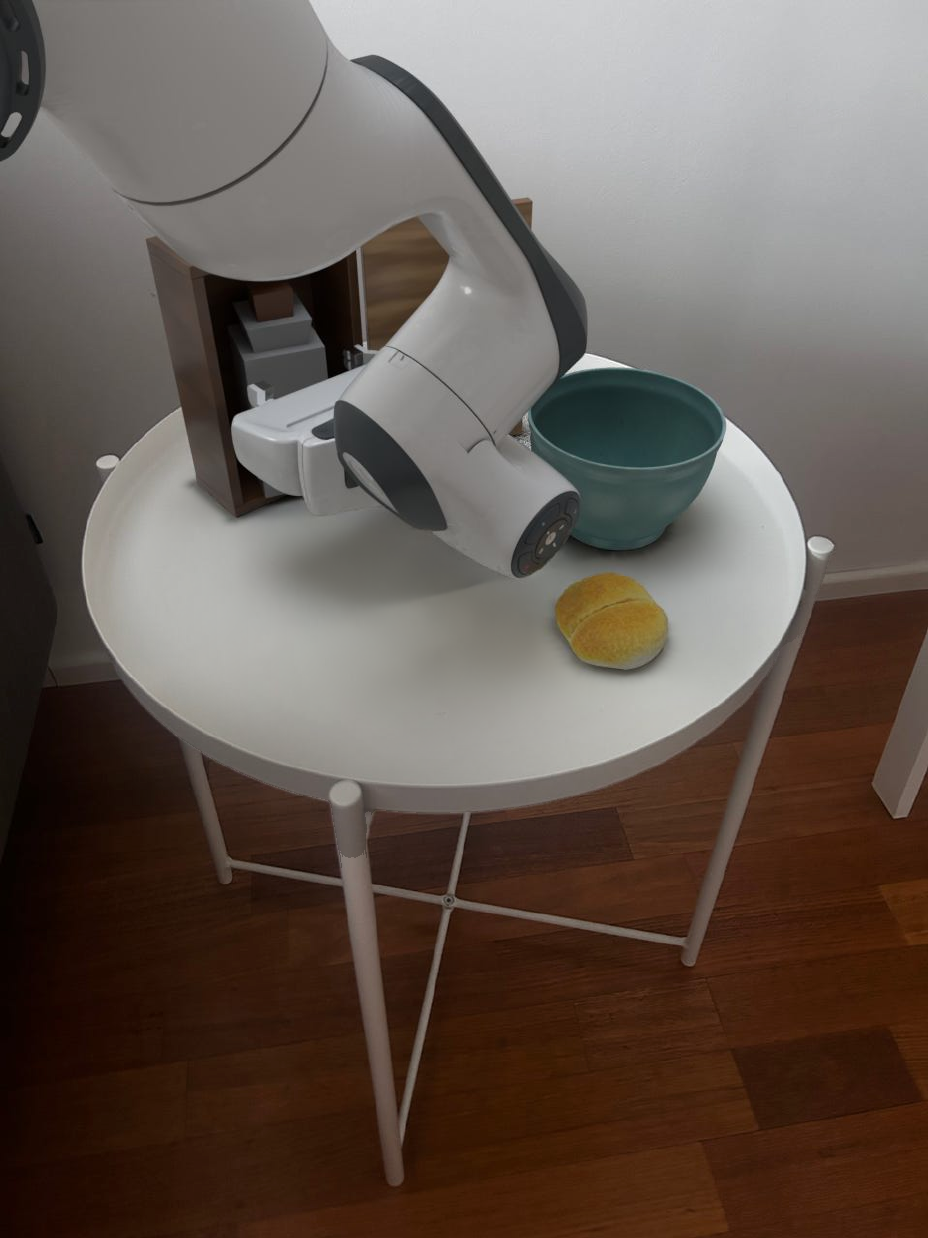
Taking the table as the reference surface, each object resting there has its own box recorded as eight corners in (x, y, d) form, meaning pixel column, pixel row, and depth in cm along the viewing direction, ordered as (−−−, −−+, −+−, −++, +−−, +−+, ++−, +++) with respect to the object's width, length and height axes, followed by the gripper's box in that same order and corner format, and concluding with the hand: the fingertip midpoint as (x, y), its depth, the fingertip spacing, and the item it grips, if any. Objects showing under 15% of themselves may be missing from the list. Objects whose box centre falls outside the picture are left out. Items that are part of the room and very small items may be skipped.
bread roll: (590, 686, 75) (595, 647, 72) (541, 611, 81) (543, 572, 78) (688, 658, 77) (696, 619, 74) (632, 587, 83) (638, 549, 80)
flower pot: (625, 451, 98) (638, 348, 91) (743, 536, 88) (769, 429, 81) (487, 503, 92) (489, 397, 84) (598, 602, 82) (611, 491, 74)
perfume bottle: (338, 482, 93) (319, 294, 80) (265, 497, 91) (235, 308, 79) (318, 444, 97) (297, 262, 85) (249, 459, 95) (218, 274, 83)
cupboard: (371, 457, 97) (354, 217, 82) (236, 517, 90) (189, 266, 75) (330, 428, 101) (306, 193, 86) (197, 483, 94) (145, 238, 79)
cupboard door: (359, 430, 101) (341, 198, 85) (499, 403, 105) (505, 177, 89) (377, 462, 96) (361, 224, 81) (522, 433, 100) (532, 200, 85)
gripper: (508, 359, 79) (400, 300, 87) (288, 452, 70) (189, 376, 77) (506, 429, 84) (403, 367, 91) (298, 526, 74) (203, 447, 82)
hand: (303, 372), depth 84 cm, fingers open, 8 cm apart
